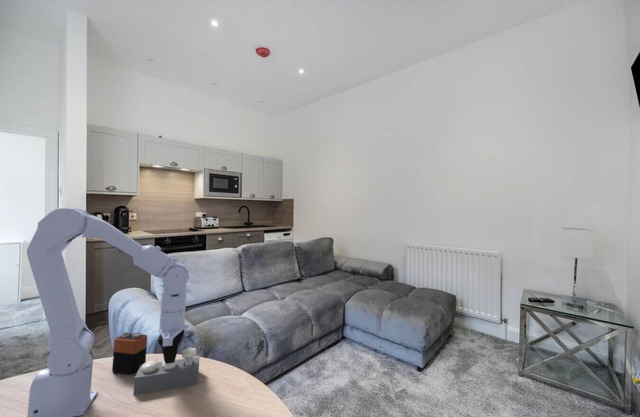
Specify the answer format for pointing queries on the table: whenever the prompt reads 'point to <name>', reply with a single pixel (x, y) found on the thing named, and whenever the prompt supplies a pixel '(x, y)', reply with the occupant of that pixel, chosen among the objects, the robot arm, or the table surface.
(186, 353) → the knob far
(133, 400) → the table surface
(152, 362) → the knob near
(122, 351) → the battery
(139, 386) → the mount
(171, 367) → the knob middle
